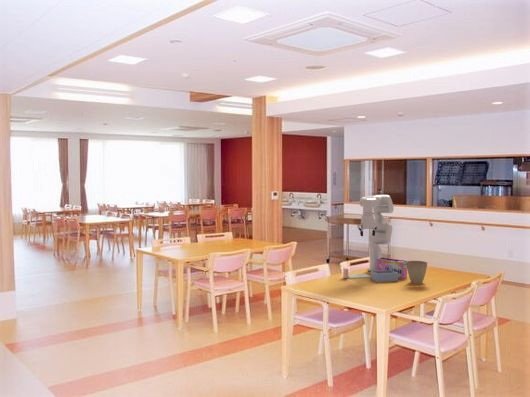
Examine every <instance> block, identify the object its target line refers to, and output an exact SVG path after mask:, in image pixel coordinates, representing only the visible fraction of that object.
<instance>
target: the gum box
mask: <svg viewBox="0 0 530 397" xmlns="http://www.w3.org/2000/svg"><path fill="white" fill-rule="evenodd" d="M407 261H408V260H404V259H395V258H394V259H393V258H386V257H381V258H380V259H377V271H382V270H392V271H395V272H397V273H398V279H405V278H408V270H407V263H406V262H407Z"/></svg>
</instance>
